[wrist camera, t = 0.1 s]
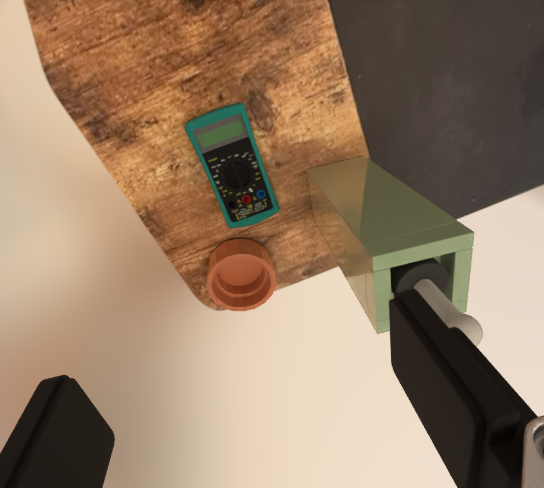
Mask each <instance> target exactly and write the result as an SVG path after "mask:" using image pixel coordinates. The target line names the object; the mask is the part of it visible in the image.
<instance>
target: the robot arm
mask: <svg viewBox="0 0 544 488" xmlns="http://www.w3.org/2000/svg"><path fill="white" fill-rule="evenodd" d="M389 320H390V342H391V343H390V344H391V363H392V367H393V370H394V373H395V375H396V377H397V378H398V380H399V382H400V384H401V386H402V387H403V389H404V391H405V393H406V395H407V397H408V398H409V400H410V402H411V404H412V405H413V408H414V409H415V411H416V413H417V414H418V417H419V418H420V420H421V422H422V424H423V426H424V428H425V429H426V431H427V433H428V435H429V436H430V438H431V440H432V442H433V444H434V446H435V448H436V449H437V451H438V453H439V455H440V456H441V459H442V460H443V462H444V464H445V466H446V468H447V469H448V471H449V473H450V475H451V477H452V478H453V480H454V482H455V484H456V486H457V487H458V488H544V416H540V417H538V416H537V415H536V414H535V413H534V412H533V411H532V410H531V409H530V407H529V406H528V405H527V404H526V403H525V402H524V400H523V399H522V398H521V397H520V396H519V395H518V394H517V392H515V390H514V389H513V388H512V387H511V386H510V385H509V384H508V382H507V381H506V380H505V379H504V378H503V377H502V376H501V374H500V373H499V372H498V371H497V370H496V369H495V368H494V366H493V365H492V364H491V363H490V362H489V361H488V360H487V358H486V357H485V356H484V355H483V354H482V353H481V352H480V350H479V349H478V348H477V347H476V346H475V345H474V344H473V342H472V341H471V340H470V339H469V338H468V337H467V336H466V334H465V333H464V332H463V331H462V330H460V329H459V328H457V327H451V328H448V326H447V325H446V324H445V323H444V322H443V320H442V319H441V318H440V317H439V316H438V315H437V313H436V312H435V311H434V310H433V309H432V307H431V306H430V305H429V304H428V303H427V301H426V300H425V299H424V298H423V297H422V295H421V294H420V293H419V292H418V291H417V290H416V289H410V290H406V291H402V292H398V293H395V294H394V299H390V300H389ZM114 441H115V438H114V433H113V431H112V429H111V428H110V427H109V425H108V424H107V423H106V421H105V420H104V418H103V417H102V416H101V414H100V413H99V412H98V410H97V409H96V407H95V406H94V405H93V403H92V402H91V401H90V399H89V398H88V396H87V395H86V394H85V392H84V391H83V390H82V388H81V387H80V385H79V384H78V383H77V381H76V380H75V379H73V378H69V377H68V376H67V375H61V376H57V377H53V378H49V379H45V380H43V381H41V382H40V384H39V385H38V386H37V388H36V390H35V392H34V394H33V396H32V397H31V399H30V401H29V403H28V405H27V406H26V408H25V410H24V412H23V414H22V415H21V417H20V419H19V421H18V423H17V424H16V426H15V428H14V430H13V432H12V433H11V435H10V437H9V439H8V441H7V442H6V444H5V446H4V448H3V450H2V451H1V453H0V488H102V487H103V483H104V480H105V476H106V472H107V469H108V465H109V462H110V458H111V454H112V450H113V447H114Z"/></svg>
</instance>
